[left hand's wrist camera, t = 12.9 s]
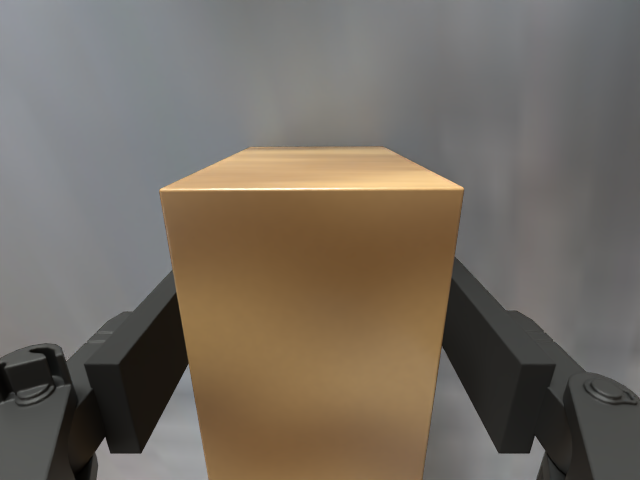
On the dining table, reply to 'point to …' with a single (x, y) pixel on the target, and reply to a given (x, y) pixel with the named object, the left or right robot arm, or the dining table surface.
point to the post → (313, 308)
